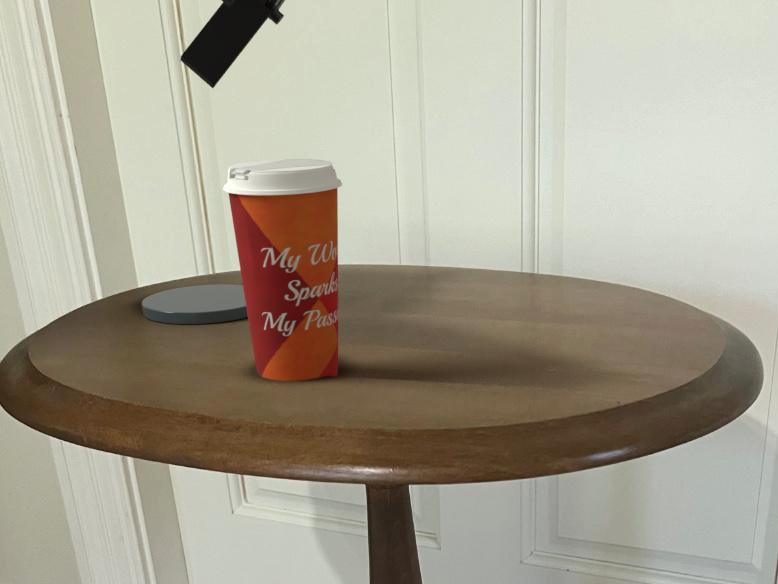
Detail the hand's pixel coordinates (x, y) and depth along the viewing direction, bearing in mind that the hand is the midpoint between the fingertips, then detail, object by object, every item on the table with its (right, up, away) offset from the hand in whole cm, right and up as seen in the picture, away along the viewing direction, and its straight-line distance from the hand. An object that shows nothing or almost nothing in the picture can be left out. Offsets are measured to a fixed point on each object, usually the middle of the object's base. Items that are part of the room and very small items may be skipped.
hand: (202, 34), depth 67 cm
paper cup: (+5, -19, +9) cm, 22 cm away
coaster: (-5, -9, +29) cm, 31 cm away
